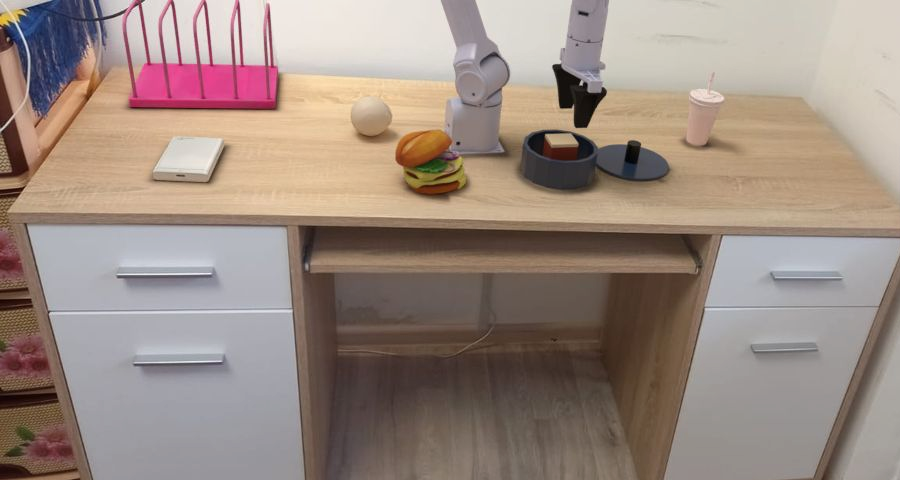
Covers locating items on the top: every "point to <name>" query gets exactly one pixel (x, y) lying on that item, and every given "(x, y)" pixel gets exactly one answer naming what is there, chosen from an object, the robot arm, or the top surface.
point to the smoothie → (702, 113)
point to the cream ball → (370, 116)
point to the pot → (558, 162)
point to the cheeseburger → (430, 162)
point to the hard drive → (189, 159)
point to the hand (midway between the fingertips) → (573, 117)
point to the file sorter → (202, 72)
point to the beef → (560, 147)
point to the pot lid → (631, 162)
